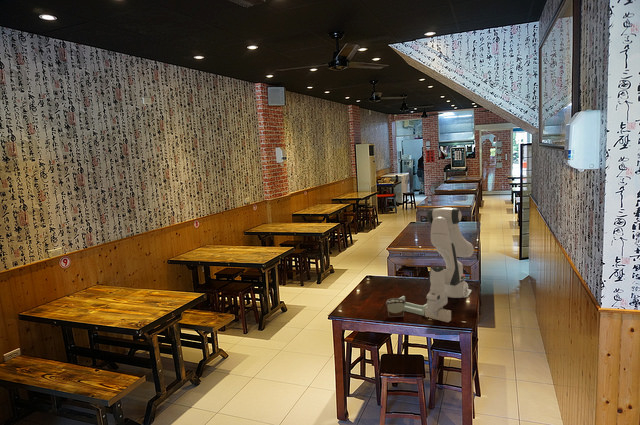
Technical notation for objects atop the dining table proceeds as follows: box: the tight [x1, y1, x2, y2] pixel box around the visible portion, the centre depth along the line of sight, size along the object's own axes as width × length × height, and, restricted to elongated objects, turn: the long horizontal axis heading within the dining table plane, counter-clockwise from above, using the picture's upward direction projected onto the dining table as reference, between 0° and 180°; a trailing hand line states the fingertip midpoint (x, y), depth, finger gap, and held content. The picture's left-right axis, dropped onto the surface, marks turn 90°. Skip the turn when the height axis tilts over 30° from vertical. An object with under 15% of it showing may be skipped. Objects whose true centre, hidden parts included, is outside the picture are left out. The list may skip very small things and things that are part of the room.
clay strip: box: [424, 307, 452, 323], centre depth 260 cm, size 4×15×6 cm, turn 48°
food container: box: [385, 297, 407, 318], centre depth 269 cm, size 12×6×10 cm, turn 92°
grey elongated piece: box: [398, 295, 427, 317], centre depth 276 cm, size 10×20×6 cm, turn 49°
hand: (437, 315), depth 261 cm, fingers closed on clay strip, 4 cm apart
